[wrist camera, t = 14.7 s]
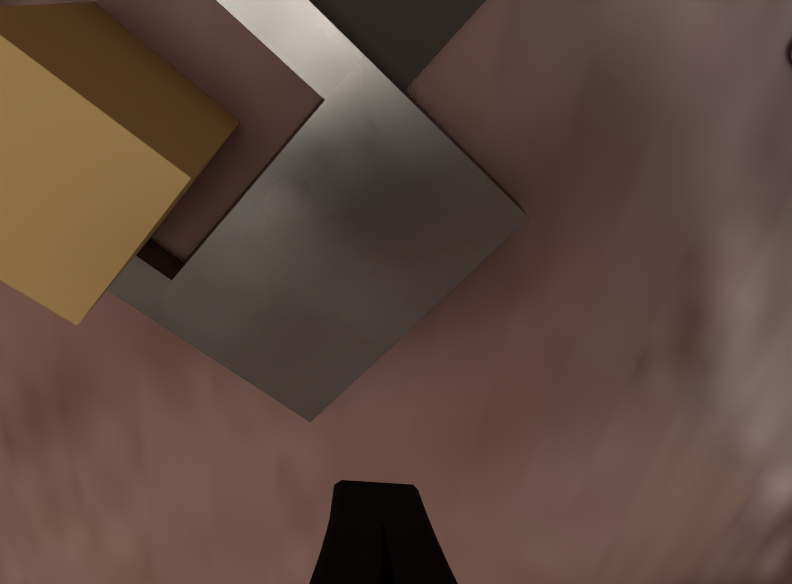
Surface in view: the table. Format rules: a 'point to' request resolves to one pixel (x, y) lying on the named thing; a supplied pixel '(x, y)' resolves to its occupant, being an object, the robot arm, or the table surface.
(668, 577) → the table surface
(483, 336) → the table surface
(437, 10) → the pad
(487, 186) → the gray rectangular frame
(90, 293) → the block
